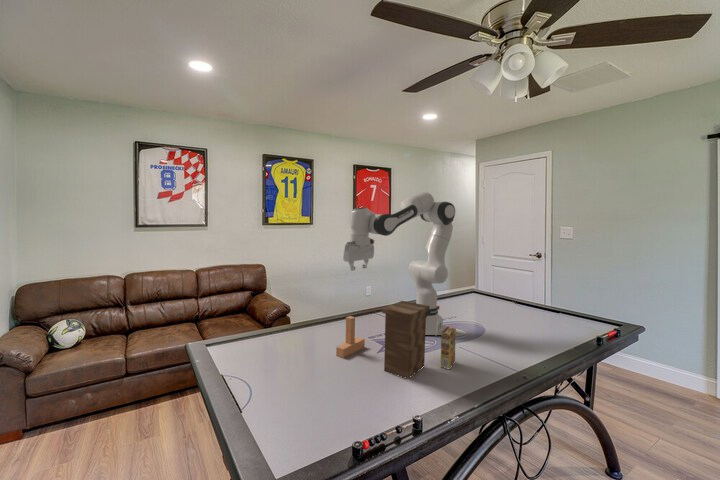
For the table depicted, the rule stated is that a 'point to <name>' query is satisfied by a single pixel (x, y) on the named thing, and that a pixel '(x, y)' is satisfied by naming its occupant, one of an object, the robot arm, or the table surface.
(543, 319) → the table surface
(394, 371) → the stand
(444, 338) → the candy box
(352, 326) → the t bar
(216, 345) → the table surface
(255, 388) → the table surface
